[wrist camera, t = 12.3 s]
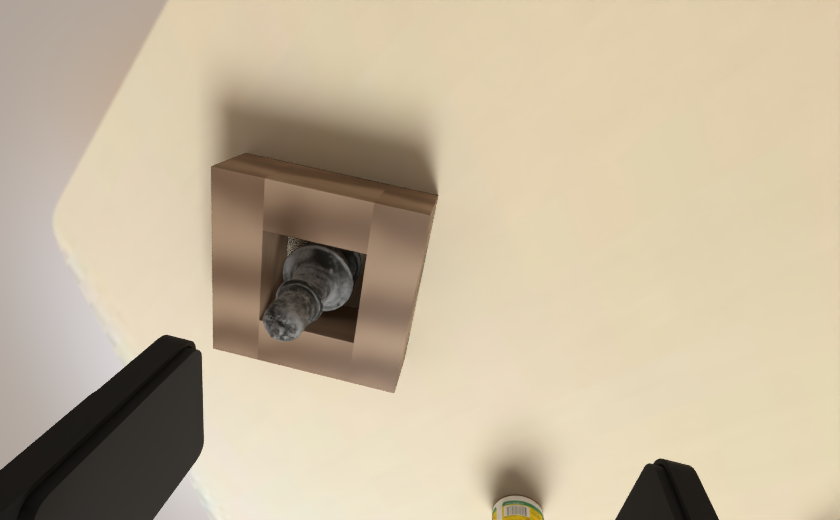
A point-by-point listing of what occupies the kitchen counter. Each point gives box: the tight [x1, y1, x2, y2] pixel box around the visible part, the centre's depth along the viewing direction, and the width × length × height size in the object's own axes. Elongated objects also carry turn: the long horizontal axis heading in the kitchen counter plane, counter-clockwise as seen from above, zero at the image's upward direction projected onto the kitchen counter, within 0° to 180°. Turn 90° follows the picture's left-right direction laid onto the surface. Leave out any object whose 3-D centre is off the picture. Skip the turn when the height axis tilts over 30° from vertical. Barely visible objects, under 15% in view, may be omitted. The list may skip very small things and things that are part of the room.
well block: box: [211, 153, 438, 393], centre depth 38 cm, size 16×16×5 cm
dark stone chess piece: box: [263, 241, 361, 342], centre depth 35 cm, size 6×6×12 cm
